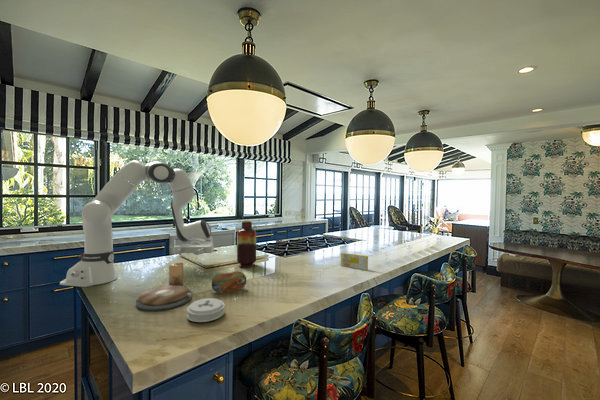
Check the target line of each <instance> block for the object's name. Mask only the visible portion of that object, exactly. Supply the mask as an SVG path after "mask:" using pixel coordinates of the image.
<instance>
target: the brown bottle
mask: <svg viewBox="0 0 600 400" xmlns="http://www.w3.org/2000/svg"><path fill="white" fill-rule="evenodd" d="M236 262H237V263H238V267H240V268H245V269H246V268H248V269H249V268H252V267H255V263H256V262H257V231H256V229H254V228H253V223H252V221H250V220H244V221H241V228H240V229H238V230H237V233H236Z"/></svg>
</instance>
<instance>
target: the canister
mask: <svg viewBox="0 0 600 400" xmlns="http://www.w3.org/2000/svg"><path fill="white" fill-rule="evenodd" d="M169 285H179V286H184V263H183V262H174V263H173V262H172V263H170V264H168V286H169Z"/></svg>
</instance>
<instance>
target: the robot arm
mask: <svg viewBox="0 0 600 400" xmlns="http://www.w3.org/2000/svg"><path fill="white" fill-rule="evenodd" d="M145 180H150V181H152V182H153V183H157V184H168V186H169V187H170V189H171V192H172V198H173V199H172V200H171V202H170V208H171V213H172V217H173V221H174V226H175V233H176V234H175V235H176V238H177V239H178V240H179V241H181V242H183V243H181V244H177V245H174V246H173V248H172V249H173V251H172V252H173V253H174V254H179V255H181V254H193V255H194V256H195V255H196V256H199V255H201V254H202V255H203V254H212V253H214V248H215V247H214V246H215V245H214V238H213V236H212V229H211V226H210V224H209V223H208V222H207V221H205V220H203V219H200V220H197V221H194V222H191V223H185V221H184V217H183V213H182V210H183V208H184V207H185V206H187V205H188V204H189V203H190V202H191V201H192V200H193V199H194V198H195V190H194V189H195V188H194V186H193V185H192V182H191V180H190V178H189V176H188V174H187V173H186V171H185V170H184V169H182V168H172V167H171V166H170V165H168V164H167V163H165V162H163V161H157V160H156V161H150V162H147V163H144V164H143V163H142V162H140V161H138V160H130V161H129V162H128V163H126V164H125V165H124V166H122V167H121V168H120V169H119V170H118V171H117V172H116V173H115V174H114V175H113V176H112V177H111V178H110V179H109V181H108V182H107V183H106V184H104V186H103V188H102V189H101V190H100V191H99V192H98V194H96V196H95V197H94V198H93V199H92V200H91V201H89V202H87V203H86V204H85V205H84V206H83V207H82V209H81V222H82V230H83V239H84V252H83V253H82V254H78V258H81V259H80V261H78V262H77V263H76V264H74V265H72V267H69V269H68V270H67V272H66V277H65V279H63V280H61V281H59V285H60V286H69V287H79V288H87V287H92V286H97V285H102V284H107V283H109V282H113V281H115V280H116V279H118V276H117V274H116V270H115V269H116V268H115V264H114V263H115V262H114V259H115V251H114V247H113V244H114V242H113V236H114V235H113V228H112V227H113V226H112V217H113V215H115V213H116V212H117V211H118V209H119V208H120V207H121V206H122V205H123V203H125V201H126V200H128V198H129V197H130V196H131V195H132V193H133V192H134V191H135V190H136V189H137V188H138V187H139V185H140V184H142V182H144V181H145ZM187 242H189V243H187Z"/></svg>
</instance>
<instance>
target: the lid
mask: <svg viewBox="0 0 600 400" xmlns="http://www.w3.org/2000/svg"><path fill="white" fill-rule="evenodd" d="M225 305H226V304H225V303H224V301H222V300H220V299H219V298H210V297H209V298H208V297H207V298H201V299H199V300H198V299H197V300H195V301H193V302H191V303H190V304H189V305H188V306H187V307H186V311H187V314H186V318H187V319H188V320H189V321H191V322H194V323H195V322H196V323H207V322H210V321H214V320H218V319H220V318H221V317H222V316H224V315H225Z"/></svg>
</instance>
